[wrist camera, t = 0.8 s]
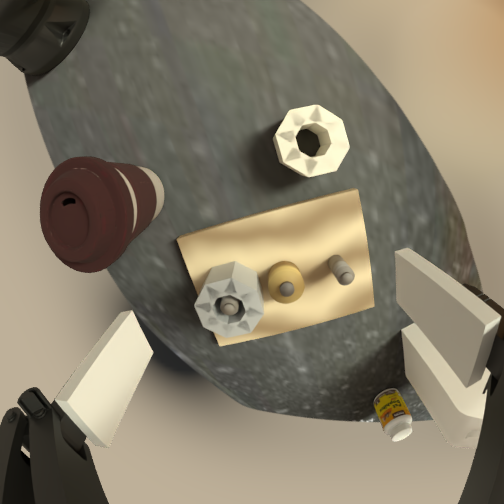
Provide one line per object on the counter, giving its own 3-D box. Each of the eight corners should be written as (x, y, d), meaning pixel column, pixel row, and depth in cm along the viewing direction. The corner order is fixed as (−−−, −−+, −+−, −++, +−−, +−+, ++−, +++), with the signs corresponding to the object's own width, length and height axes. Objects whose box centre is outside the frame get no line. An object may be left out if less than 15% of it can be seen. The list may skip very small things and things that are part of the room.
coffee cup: (156, 247, 34) (98, 302, 20) (97, 212, 32) (21, 245, 18) (189, 177, 31) (137, 190, 17) (124, 144, 30) (45, 140, 15)
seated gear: (196, 271, 33) (187, 288, 28) (252, 256, 32) (251, 272, 28) (215, 318, 35) (209, 341, 30) (267, 306, 34) (268, 328, 30)
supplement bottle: (395, 382, 41) (415, 421, 31) (400, 396, 43) (418, 432, 33) (369, 396, 42) (385, 437, 32) (375, 409, 44) (390, 447, 34)
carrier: (179, 235, 33) (163, 252, 27) (353, 188, 31) (375, 194, 25) (220, 340, 38) (215, 370, 32) (370, 301, 36) (388, 326, 29)
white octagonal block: (267, 122, 29) (269, 114, 24) (324, 109, 28) (336, 101, 23) (284, 179, 31) (289, 182, 26) (340, 165, 30) (354, 166, 25)
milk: (454, 348, 39) (521, 439, 14) (405, 375, 41) (461, 484, 16) (455, 299, 36) (550, 395, 11) (401, 329, 37) (482, 455, 13)
